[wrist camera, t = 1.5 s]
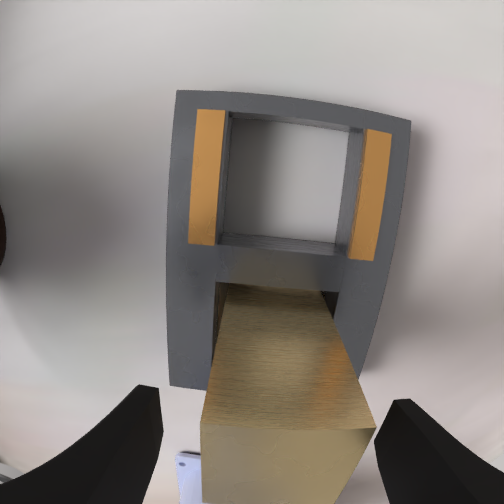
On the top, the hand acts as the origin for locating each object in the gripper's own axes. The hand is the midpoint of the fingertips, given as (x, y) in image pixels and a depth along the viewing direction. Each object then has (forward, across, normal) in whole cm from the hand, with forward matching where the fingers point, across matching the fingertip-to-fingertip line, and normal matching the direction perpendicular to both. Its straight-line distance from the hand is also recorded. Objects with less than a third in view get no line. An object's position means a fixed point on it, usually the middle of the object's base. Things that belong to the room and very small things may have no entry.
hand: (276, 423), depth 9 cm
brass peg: (+7, 0, 0) cm, 7 cm away
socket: (+7, 0, -3) cm, 8 cm away
